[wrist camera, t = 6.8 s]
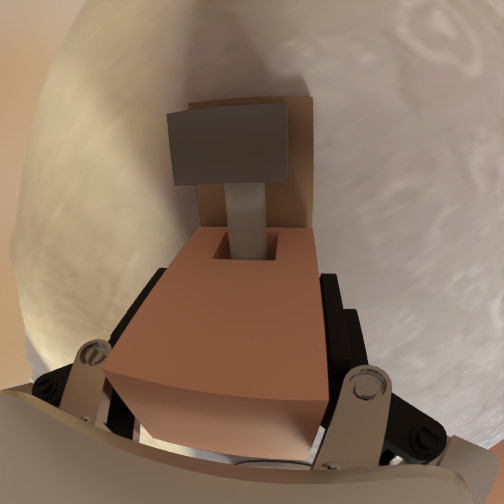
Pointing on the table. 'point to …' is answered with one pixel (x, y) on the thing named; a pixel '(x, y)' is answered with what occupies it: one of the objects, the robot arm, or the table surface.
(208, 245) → the block
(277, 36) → the table surface
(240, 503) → the robot arm
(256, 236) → the rail
